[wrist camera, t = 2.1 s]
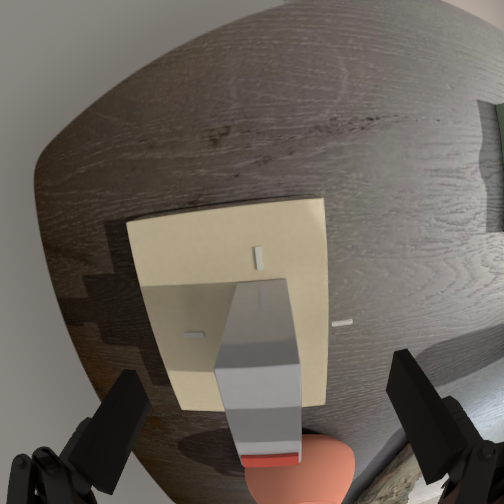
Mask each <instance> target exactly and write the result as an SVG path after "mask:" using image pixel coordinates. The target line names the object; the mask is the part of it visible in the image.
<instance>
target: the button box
mask: <svg viewBox="0 0 504 504" xmlns="http://www.w3.org/2000/svg"><path fill="white" fill-rule="evenodd" d="M495 106H496V111H497V117H498V123H499V129H500V136H501V144H502V154H503V166H504V103H503V104H498V105H495ZM503 232H504V226H503Z"/></svg>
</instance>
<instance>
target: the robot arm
mask: <svg viewBox="0 0 504 504" xmlns="http://www.w3.org/2000/svg"><path fill="white" fill-rule="evenodd" d="M386 392H387V394H388V396H389V398H390V400H391V402H392V405H393V407H394V409H395V411H396V413H397V415H398V418H399V420H400V422H401V424H402V427H403V429H404V431H405V433H406V436H407V438H408V440H409V443H410V445H411V447H412V450H413V452H414V455H415V457H416V459H417V462H418V464H419V467H420V469H421V472H422V474H423V477H424V479H425V482H426V485H429V484H431V483H434V482H436V481H438V480H440V479H442V478H443V477H444V476H445V475H446V473H448V475H449V478H448V480H447V481H446V482H445V483H444V484H443V485H442V487H441V488H442V489H443V488H444V487H445V488H444V490H443V493H442V495H441V497H440V500H439V502H438V504H504V442H500V443H494V442H492V441H489V440H483V438H482V437H481V436H480V434H479V432H478V431H477V429H476V428H475V426H474V425H473V423H472V421H471V420H470V418H469V417H467V414H466V412H465V411H463V408H462V406H461V405H460V403H459V402H458V401H457V400H456V399H454V398H453V397H451V396H447V397H445V398H442V399H441V398H440V396H439V395H438V393H437V392H436V390H435V388H434V387H433V385H432V384H431V382H430V381H429V379H428V378H427V376H426V375H425V374H424V372H423V371H422V369H421V368H420V366H419V365H418V363H417V362H416V360H415V359H414V358H413V356H412V355H411V353H410V352H409V351H408V349H403V350H399V351H395V352H394V354H393V360H392V365H391V370H390V374H389V379H388V383H387V388H386ZM151 406H152V405H151V403H150V401H149V399H148V396H147V394H146V392H145V390H144V388H143V385H142V383H141V381H140V379H139V376H138V374H137V372H136V370H128V369H124V370H123V371H122V373H121V374H120V376H119V377H118V379H117V380H116V382H115V383H114V385H113V386H112V388H111V389H110V391H109V393H108V394H107V396H106V397H105V399H104V400H103V402H102V403H101V405H100V406H99V408H98V409H97V411H96V413H95V414H94V416H93V417H92V418H89V417H87V418H86V419H85V420H83V421H82V422H81V423H80V424H79V426H78V427H77V428H76V431H75V432H74V433H73V435H72V437H71V438H70V439H69V441H68V443H67V444H66V446H65V447H64V449H63V451H62V452H61V454H60V455H59V457H58V456H57V455H56V454H55V453H54V452H53V451H52V450H51V449H50V448H49V447H40V448H37V449H36V450H35V451H34V452H33V454H32V459H31V458H30V457H29V456H28V455H26V454H20V455H17V456H16V457H15V458H14V459H13V462H12V467H11V472H10V478H9V485H8V494H7V503H6V504H97V501H96V499H95V496H94V493H93V492H92V490H91V487H92V485H93V486H94V487H95V488H96V489H97V490H98V491H101V492H103V493H107V494H109V495H112V494H113V492H114V490H115V487H116V485H117V483H118V480H119V478H120V476H121V473H122V471H123V469H124V466H125V464H126V462H127V460H128V457H129V455H130V453H131V450H132V448H133V446H134V444H135V442H136V439H137V437H138V435H139V433H140V430H141V428H142V426H143V424H144V422H145V419H146V417H147V415H148V413H149V411H150V408H151ZM35 490H37V494H36V495H35Z"/></svg>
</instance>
